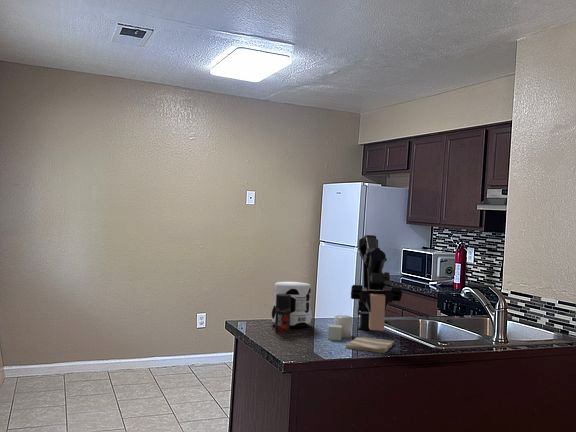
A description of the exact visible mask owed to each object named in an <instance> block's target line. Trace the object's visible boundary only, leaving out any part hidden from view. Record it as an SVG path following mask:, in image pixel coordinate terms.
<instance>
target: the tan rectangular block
mask: <svg viewBox="0 0 576 432" xmlns="http://www.w3.org/2000/svg"><path fill="white" fill-rule="evenodd" d="M370 306H371V311H370V312H369V329H370V330H373V331H385V317H386V316H385V315H386V311H385V295H384V294H370Z"/></svg>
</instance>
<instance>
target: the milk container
mask: <svg viewBox="0 0 576 432" xmlns="http://www.w3.org/2000/svg"><path fill="white" fill-rule="evenodd" d="M273 289H274V292H273V305H272V308H271V313H270V315H271V322H272V324H274V325H275V318H276V295H277V294H289V295H291V308H290V328H292V329H293V328H303V327H307V326H309V325H310V324H311V321H312V315H313V314H312V308H311V284H310V283H308V282H307V283H306V282H300V281H277V282H275V283H274V288H273Z"/></svg>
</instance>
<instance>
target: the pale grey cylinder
mask: <svg viewBox="0 0 576 432" xmlns="http://www.w3.org/2000/svg"><path fill="white" fill-rule="evenodd" d="M333 325H342V338H351V337H352V336H353V335H352V330H353V317H352V316H351V315H345V314H344V315H343V314H342V315H341V314H340V315H339V314H338V315H335V316H334V324H333Z"/></svg>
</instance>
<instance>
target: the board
mask: <svg viewBox="0 0 576 432" xmlns="http://www.w3.org/2000/svg"><path fill="white" fill-rule="evenodd" d="M393 345H395V340H389V339H380V338H371V337H365V336H364V337H363V336H357V337H355V338H353V339H352V340H351V341H349V342H348V343H347V344H345V349H350V350H351V349H352V350H358V351H366V352H372V353H380V354H385V353H386V352H387V351H388V350H389V349H391V348H392V346H393Z"/></svg>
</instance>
